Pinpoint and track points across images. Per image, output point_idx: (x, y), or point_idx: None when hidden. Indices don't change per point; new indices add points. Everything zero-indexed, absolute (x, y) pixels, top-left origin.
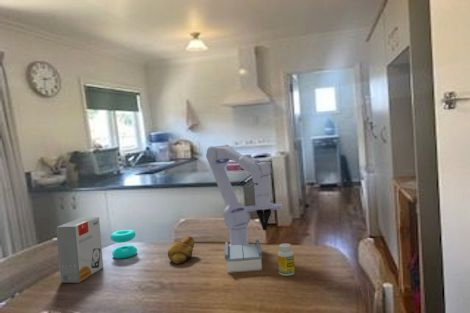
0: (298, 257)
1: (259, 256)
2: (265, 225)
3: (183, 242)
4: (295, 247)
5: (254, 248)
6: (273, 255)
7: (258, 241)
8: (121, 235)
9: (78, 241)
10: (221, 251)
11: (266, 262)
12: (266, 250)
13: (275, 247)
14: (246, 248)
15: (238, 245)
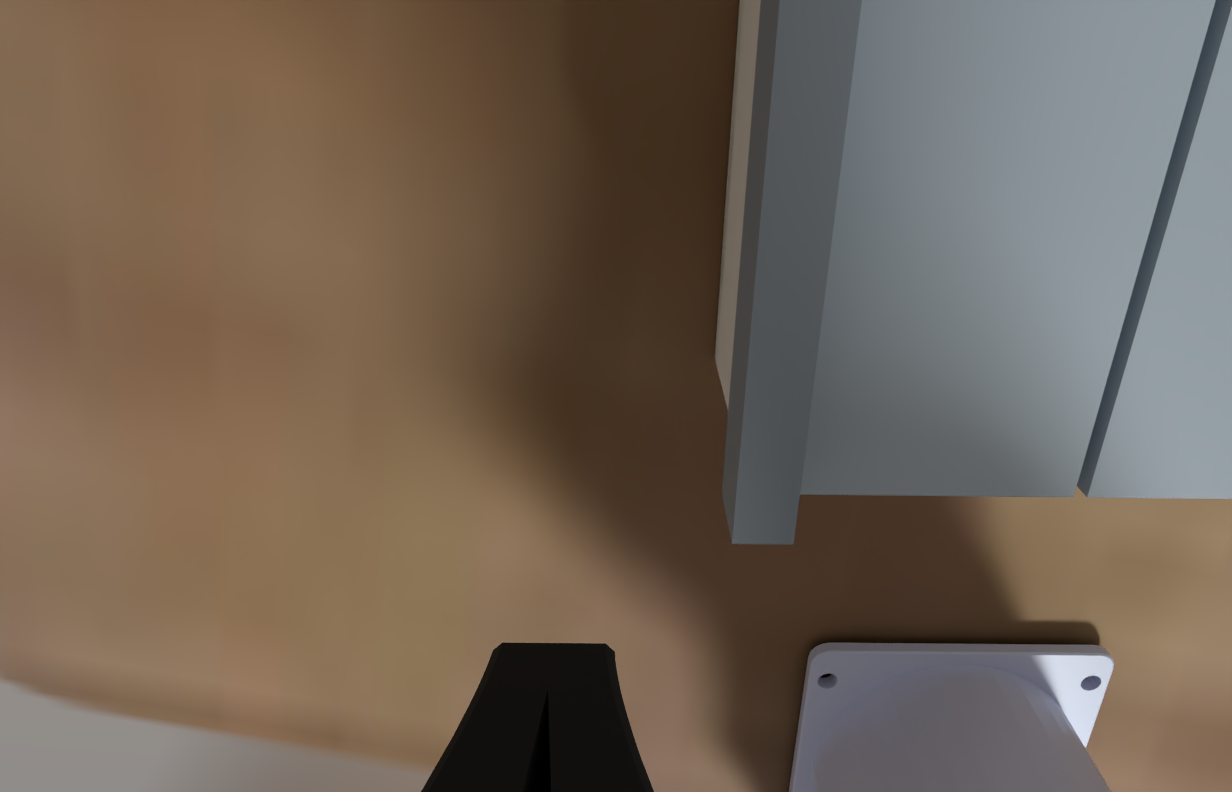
0: (13, 164)
1: None
2: (511, 741)
3: None
4: (103, 615)
5: (881, 175)
6: (461, 359)
7: (755, 411)
8: None
9: None
10: (1217, 682)
11: (616, 35)
12: (556, 589)
13: (411, 672)
14: (1066, 220)
15: (1168, 467)
